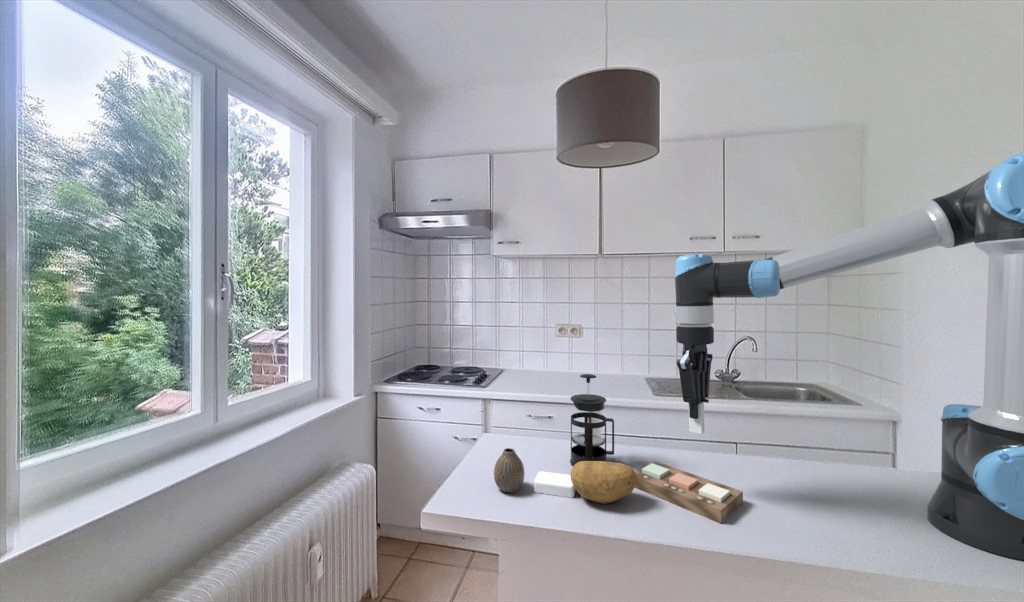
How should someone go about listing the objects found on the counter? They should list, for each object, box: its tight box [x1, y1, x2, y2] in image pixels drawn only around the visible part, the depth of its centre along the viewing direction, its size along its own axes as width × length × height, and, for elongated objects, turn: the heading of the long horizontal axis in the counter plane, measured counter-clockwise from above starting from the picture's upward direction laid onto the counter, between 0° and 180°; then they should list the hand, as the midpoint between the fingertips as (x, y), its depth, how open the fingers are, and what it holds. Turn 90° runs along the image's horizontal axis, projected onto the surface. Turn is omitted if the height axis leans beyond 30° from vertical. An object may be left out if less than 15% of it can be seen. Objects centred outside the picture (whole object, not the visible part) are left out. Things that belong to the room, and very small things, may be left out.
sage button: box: [641, 463, 670, 479], centre depth 92 cm, size 4×4×3 cm
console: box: [634, 460, 744, 524], centre depth 87 cm, size 20×11×3 cm, turn 41°
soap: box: [533, 471, 577, 499], centre depth 89 cm, size 9×6×3 cm, turn 73°
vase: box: [493, 447, 525, 493], centre depth 90 cm, size 7×7×9 cm
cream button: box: [699, 483, 730, 503], centre depth 82 cm, size 4×4×3 cm
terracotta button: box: [669, 473, 698, 490], centre depth 87 cm, size 4×4×3 cm
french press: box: [569, 373, 615, 467], centre depth 102 cm, size 12×9×23 cm
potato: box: [570, 461, 638, 505], centre depth 85 cm, size 10×14×8 cm
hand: (696, 431), depth 88 cm, fingers closed
